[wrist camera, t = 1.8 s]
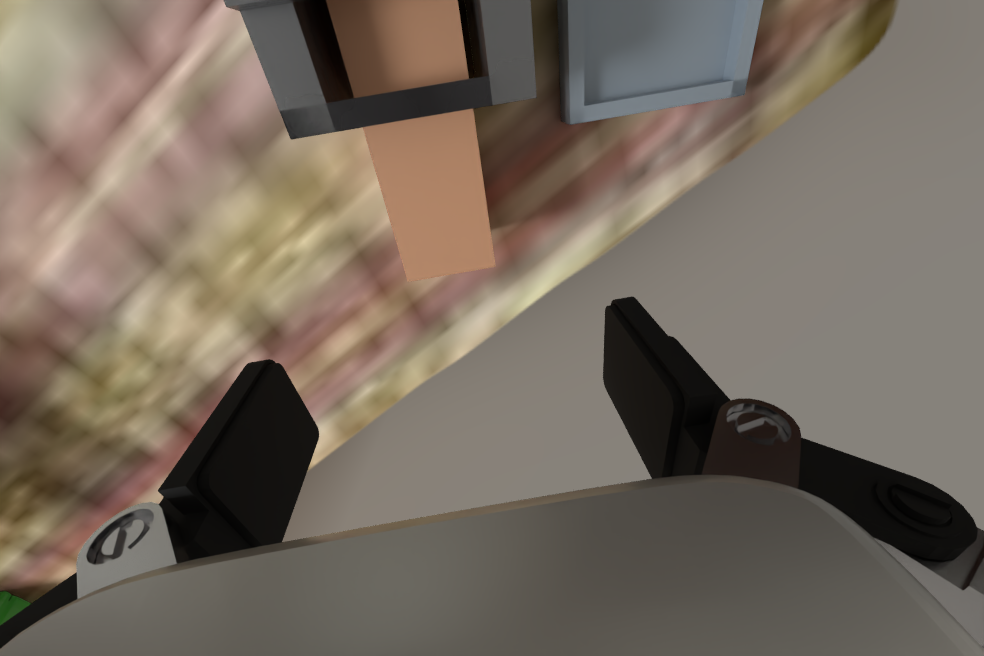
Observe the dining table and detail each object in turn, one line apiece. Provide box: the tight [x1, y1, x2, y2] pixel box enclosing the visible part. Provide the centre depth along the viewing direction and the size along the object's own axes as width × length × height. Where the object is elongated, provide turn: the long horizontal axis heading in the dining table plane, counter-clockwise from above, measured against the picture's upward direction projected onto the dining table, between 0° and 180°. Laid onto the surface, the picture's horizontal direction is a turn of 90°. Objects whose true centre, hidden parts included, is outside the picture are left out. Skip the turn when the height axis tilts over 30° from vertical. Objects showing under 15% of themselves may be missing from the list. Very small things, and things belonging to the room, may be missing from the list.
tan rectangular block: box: [326, 0, 495, 282], centre depth 20 cm, size 13×5×6 cm, turn 8°
